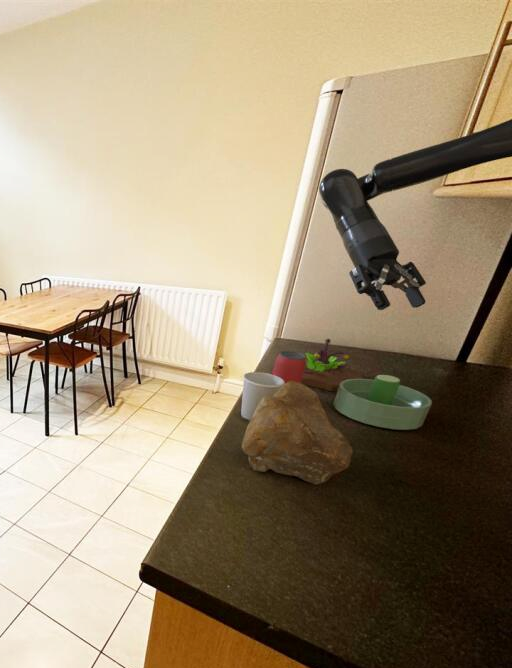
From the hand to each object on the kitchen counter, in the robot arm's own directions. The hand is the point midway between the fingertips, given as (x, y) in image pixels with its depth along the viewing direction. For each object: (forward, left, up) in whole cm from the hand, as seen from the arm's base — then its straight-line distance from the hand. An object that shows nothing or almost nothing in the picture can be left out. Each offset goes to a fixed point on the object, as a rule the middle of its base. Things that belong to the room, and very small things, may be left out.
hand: (402, 306), depth 87 cm
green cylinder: (-4, 0, -26) cm, 26 cm away
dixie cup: (+24, -5, -27) cm, 36 cm away
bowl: (-4, 0, -27) cm, 27 cm away
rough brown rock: (+31, +14, -27) cm, 44 cm away
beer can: (+10, -13, -27) cm, 32 cm away
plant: (-10, -23, -27) cm, 36 cm away
